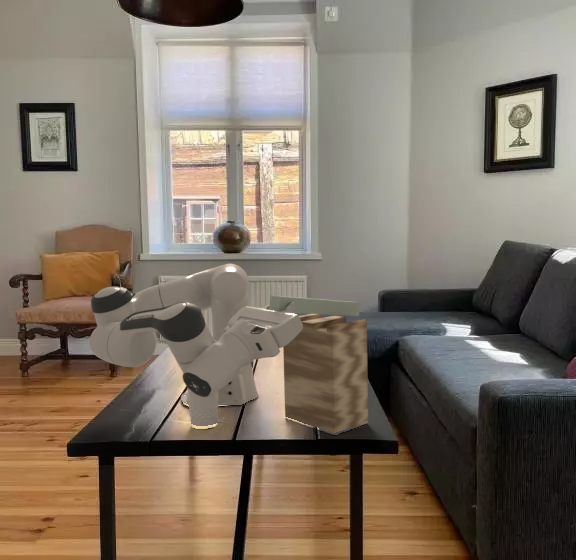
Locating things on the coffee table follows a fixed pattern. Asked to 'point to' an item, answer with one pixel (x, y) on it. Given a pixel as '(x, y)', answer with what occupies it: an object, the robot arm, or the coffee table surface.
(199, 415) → the white cup
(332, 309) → the gray-green block
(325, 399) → the wooden box
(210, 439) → the coffee table surface
